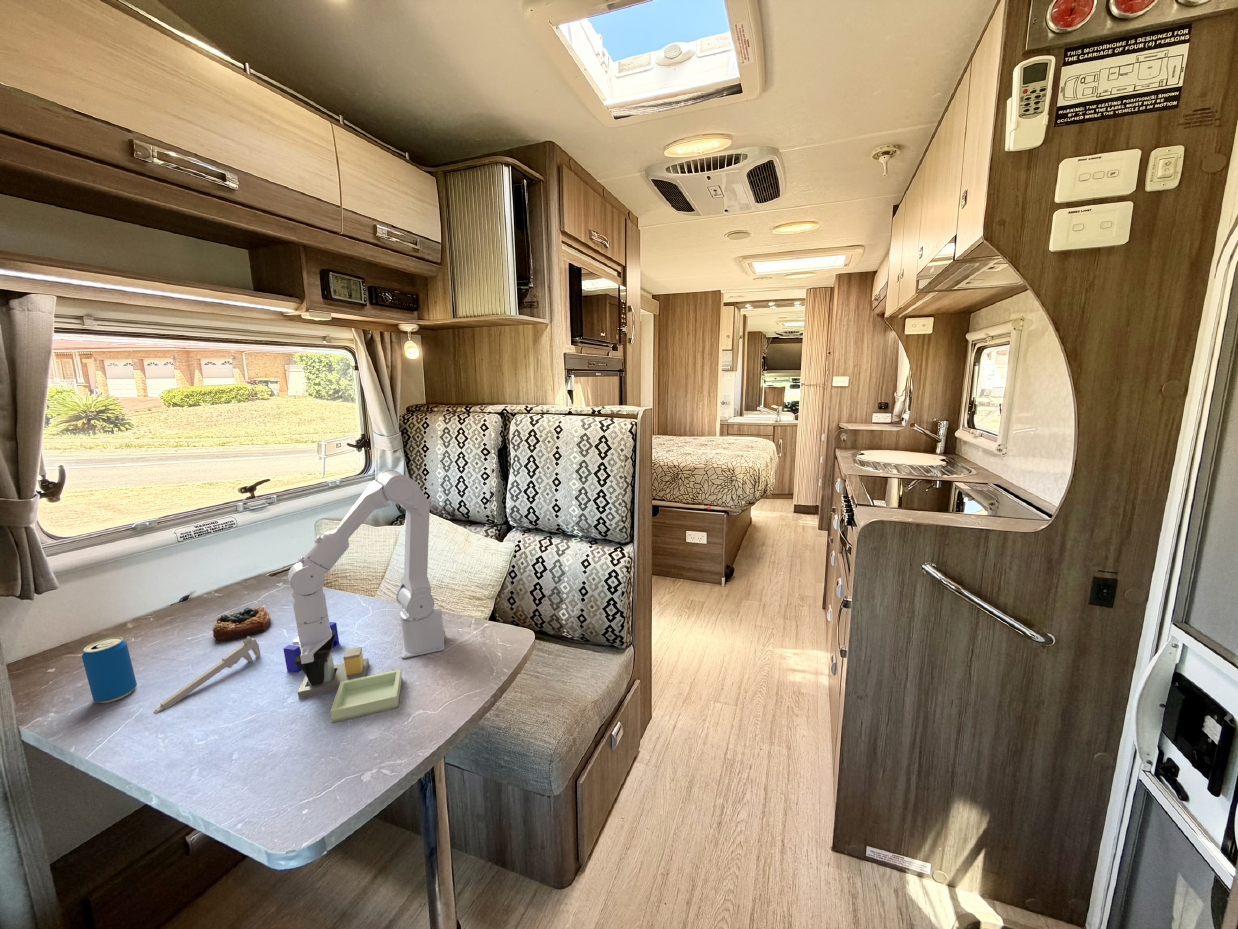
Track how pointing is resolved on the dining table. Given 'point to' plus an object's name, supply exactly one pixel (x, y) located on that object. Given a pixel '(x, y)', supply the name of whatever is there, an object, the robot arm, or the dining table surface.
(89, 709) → the dining table surface
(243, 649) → the caliper
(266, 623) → the pastry
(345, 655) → the block
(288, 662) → the cable clip
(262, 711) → the dining table surface
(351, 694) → the parts tray
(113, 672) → the beverage can
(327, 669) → the grey-green rectangular block
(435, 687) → the dining table surface
